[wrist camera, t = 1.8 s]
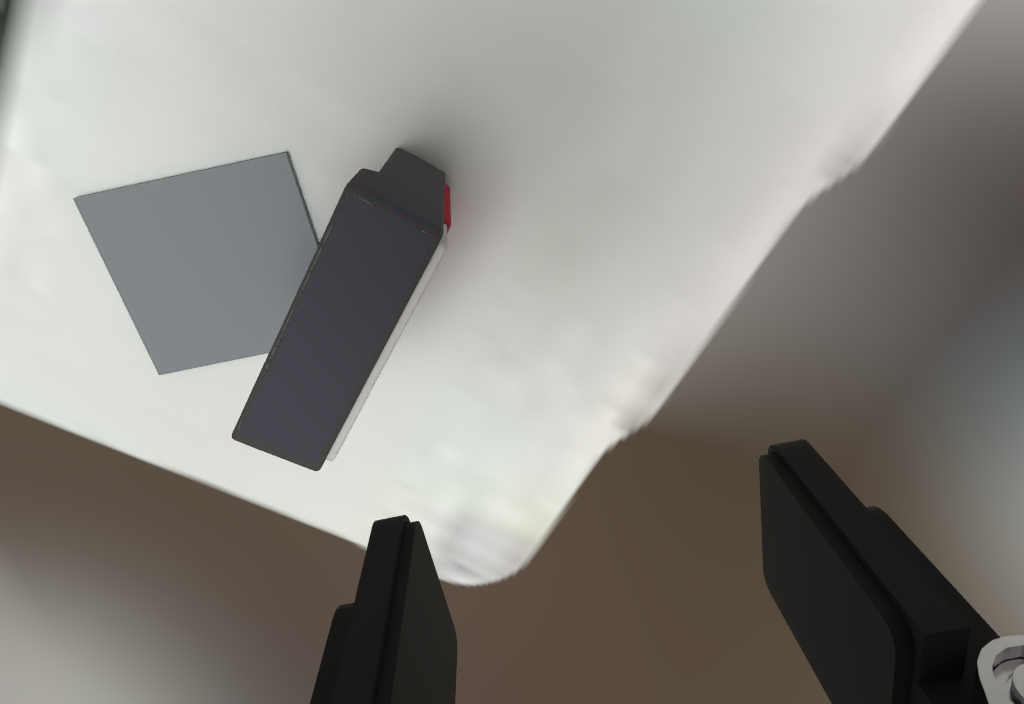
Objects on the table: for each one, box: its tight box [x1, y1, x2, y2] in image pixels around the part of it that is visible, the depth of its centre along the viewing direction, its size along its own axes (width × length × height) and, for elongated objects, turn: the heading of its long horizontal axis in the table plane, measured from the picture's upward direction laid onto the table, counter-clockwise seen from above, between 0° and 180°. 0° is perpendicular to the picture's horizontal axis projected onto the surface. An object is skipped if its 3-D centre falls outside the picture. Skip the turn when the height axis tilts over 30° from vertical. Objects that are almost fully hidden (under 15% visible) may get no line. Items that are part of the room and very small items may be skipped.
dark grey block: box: [232, 148, 451, 471], centre depth 29 cm, size 11×4×15 cm, turn 150°
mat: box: [73, 152, 319, 375], centre depth 36 cm, size 12×11×1 cm
